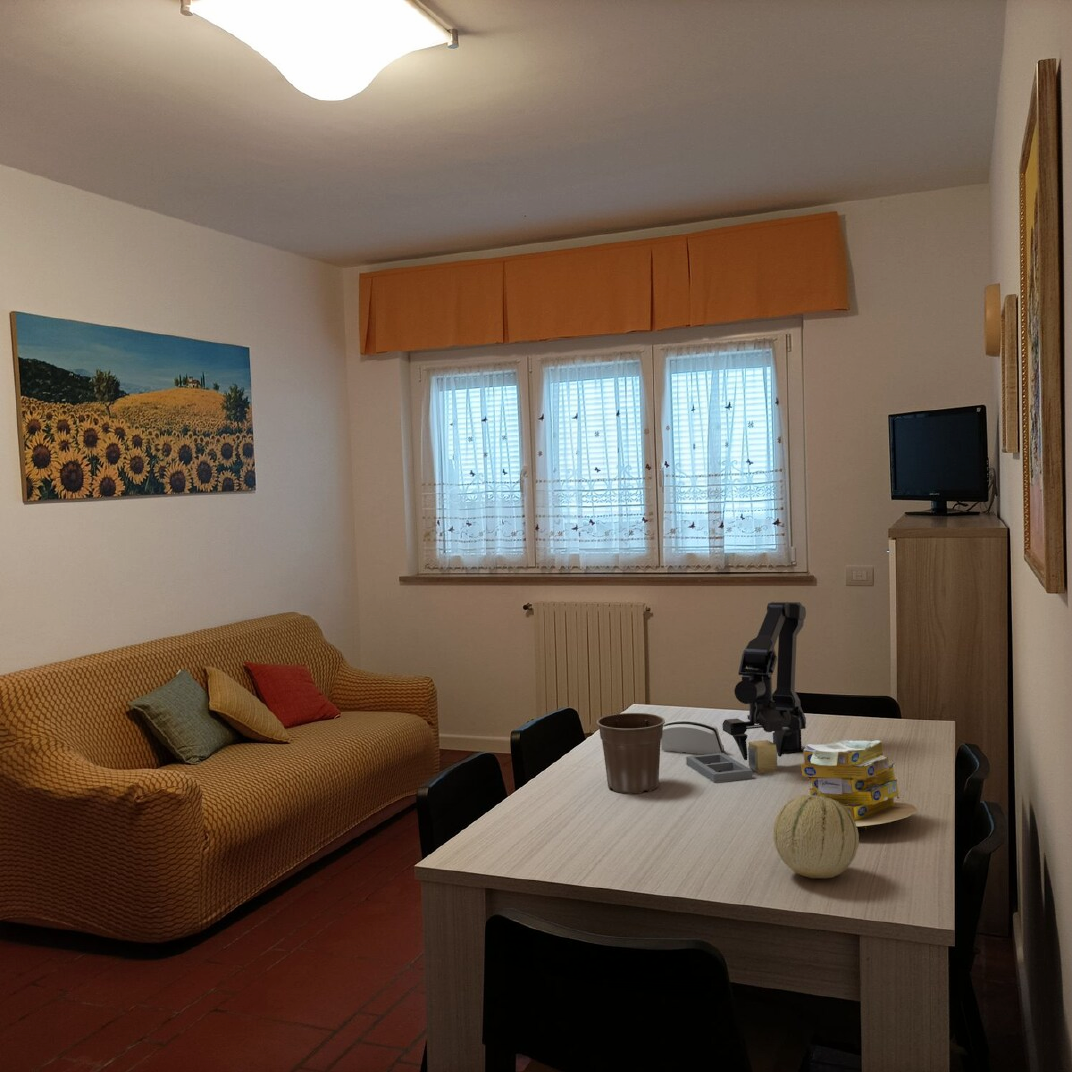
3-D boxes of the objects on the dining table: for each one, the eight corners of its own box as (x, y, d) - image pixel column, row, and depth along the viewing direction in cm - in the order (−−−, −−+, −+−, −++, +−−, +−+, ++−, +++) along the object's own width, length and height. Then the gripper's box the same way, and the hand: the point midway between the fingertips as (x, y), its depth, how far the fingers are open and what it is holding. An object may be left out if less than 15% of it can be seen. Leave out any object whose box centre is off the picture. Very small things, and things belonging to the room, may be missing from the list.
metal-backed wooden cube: (769, 765, 259) (768, 739, 258) (778, 770, 254) (777, 744, 254) (747, 767, 257) (747, 742, 257) (756, 772, 252) (755, 746, 252)
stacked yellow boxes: (767, 818, 218) (764, 740, 217) (850, 796, 230) (848, 723, 229) (856, 851, 196) (854, 764, 196) (943, 825, 209) (940, 744, 208)
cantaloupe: (778, 890, 178) (775, 805, 178) (772, 860, 193) (769, 781, 192) (866, 892, 176) (863, 806, 175) (853, 861, 190) (851, 782, 190)
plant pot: (664, 797, 235) (661, 728, 235) (594, 796, 238) (592, 727, 238) (669, 777, 251) (667, 712, 250) (604, 777, 254) (601, 712, 254)
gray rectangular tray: (722, 760, 265) (722, 752, 265) (752, 778, 247) (752, 770, 247) (686, 764, 263) (686, 756, 263) (714, 782, 245) (713, 774, 245)
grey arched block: (726, 750, 274) (720, 718, 271) (721, 761, 270) (715, 728, 267) (667, 746, 282) (661, 715, 279) (661, 756, 278) (655, 724, 275)
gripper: (739, 705, 245) (741, 770, 246) (810, 698, 249) (812, 762, 250) (720, 697, 256) (722, 759, 256) (789, 690, 260) (791, 751, 261)
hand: (762, 758), depth 256 cm, fingers open, 9 cm apart
